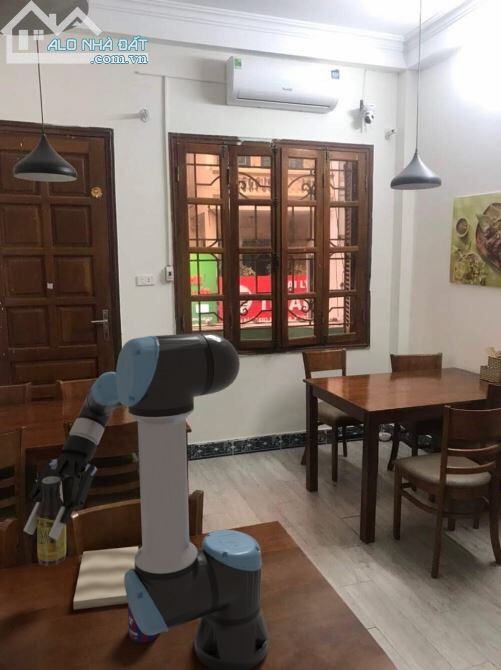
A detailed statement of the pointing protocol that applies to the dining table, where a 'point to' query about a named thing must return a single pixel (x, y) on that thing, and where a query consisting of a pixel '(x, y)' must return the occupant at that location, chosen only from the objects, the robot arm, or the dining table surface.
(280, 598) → the dining table surface
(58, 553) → the sauce bottle
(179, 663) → the dining table surface
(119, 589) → the birch board
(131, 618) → the mug
